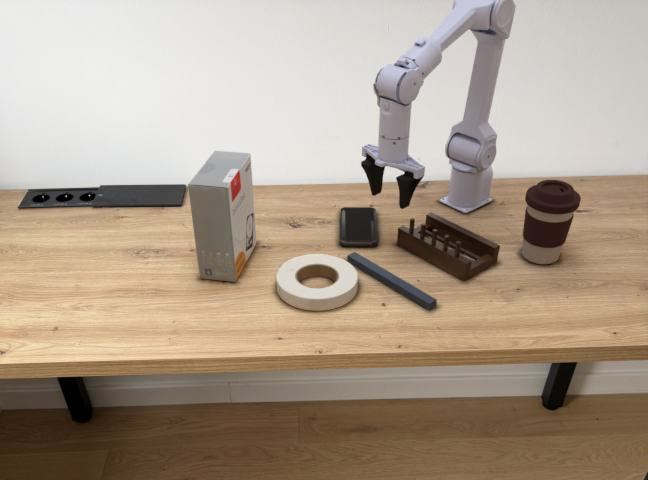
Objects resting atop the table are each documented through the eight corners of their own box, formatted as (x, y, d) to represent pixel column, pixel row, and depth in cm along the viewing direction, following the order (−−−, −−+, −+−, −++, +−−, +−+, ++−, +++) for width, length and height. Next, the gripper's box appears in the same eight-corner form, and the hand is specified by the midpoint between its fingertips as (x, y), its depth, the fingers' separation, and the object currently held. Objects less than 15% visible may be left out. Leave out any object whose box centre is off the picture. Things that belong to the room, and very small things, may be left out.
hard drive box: (236, 283, 131) (226, 188, 119) (198, 279, 132) (184, 184, 120) (258, 242, 143) (250, 151, 130) (223, 239, 144) (212, 149, 132)
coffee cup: (508, 261, 136) (521, 192, 126) (521, 238, 143) (535, 171, 133) (559, 273, 132) (576, 203, 123) (570, 249, 139) (587, 181, 129)
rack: (429, 228, 146) (432, 199, 142) (497, 262, 136) (502, 231, 131) (396, 244, 141) (398, 214, 137) (463, 281, 131) (468, 249, 126)
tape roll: (363, 270, 134) (364, 257, 132) (349, 316, 123) (349, 303, 121) (287, 261, 137) (286, 249, 135) (266, 306, 125) (265, 293, 124)
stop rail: (354, 258, 138) (354, 251, 137) (436, 306, 125) (437, 299, 124) (347, 261, 137) (347, 255, 136) (428, 310, 124) (429, 303, 123)
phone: (339, 241, 140) (340, 207, 152) (339, 246, 141) (340, 211, 153) (378, 242, 140) (376, 207, 151) (377, 247, 141) (376, 211, 152)
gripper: (351, 128, 129) (350, 194, 138) (408, 151, 121) (403, 220, 129) (377, 118, 133) (374, 183, 141) (434, 140, 124) (428, 207, 133)
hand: (390, 200), depth 135 cm, fingers open, 7 cm apart
